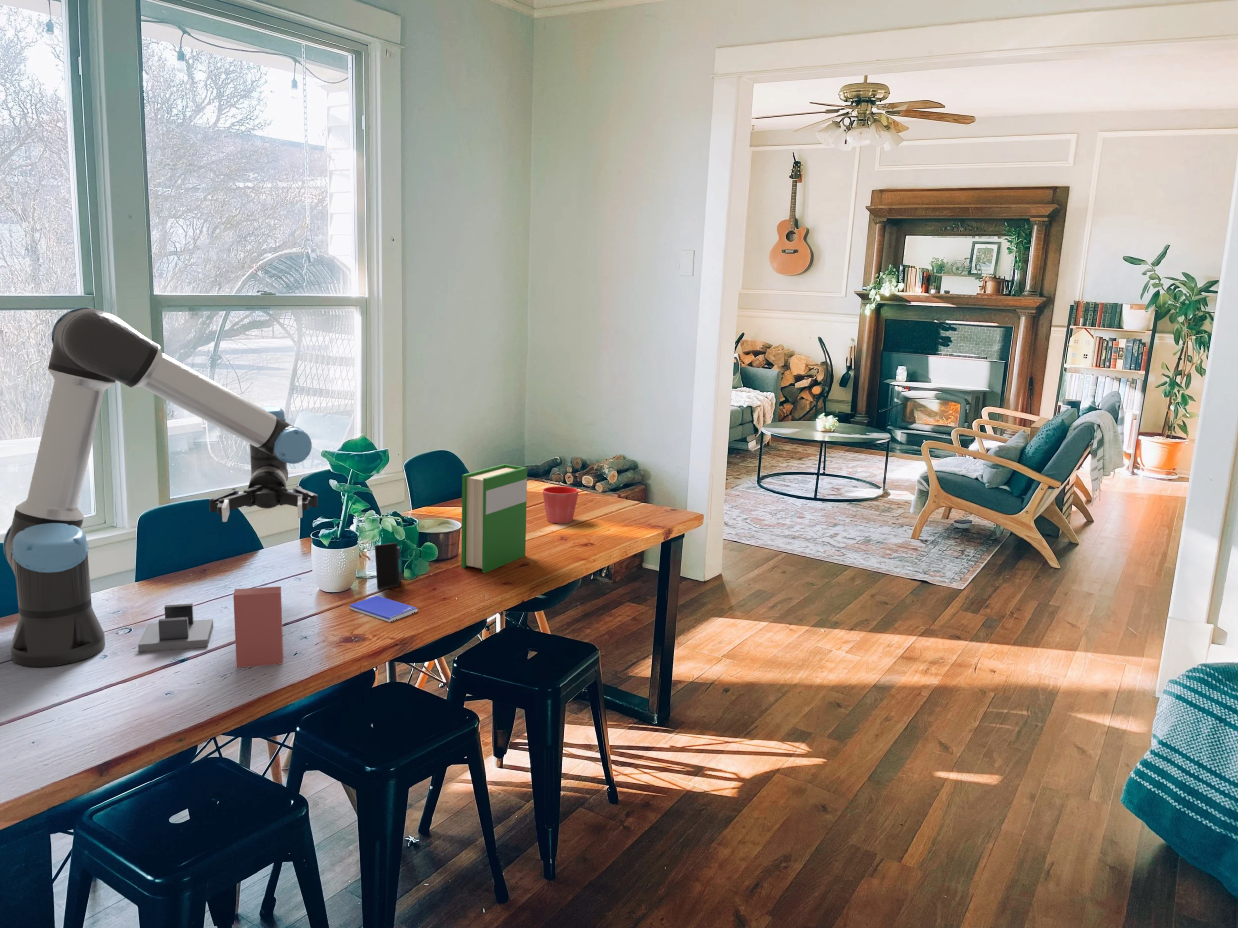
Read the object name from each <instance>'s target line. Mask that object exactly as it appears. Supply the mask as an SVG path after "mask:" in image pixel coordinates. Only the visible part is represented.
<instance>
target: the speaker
mask: <svg viewBox="0 0 1238 928" xmlns="http://www.w3.org/2000/svg"><path fill="white" fill-rule="evenodd" d="M374 552H375V554H374V555H375V569H376V573H375V574H376V583H377V584H376V585H377V590H382V589H383V590H384V589H388V588H389V589H390V588H395V587H400V586H401V584H400V582H401V581H402V571H403V567H402V558H401V547H400V546H398V542H389V543H384V544H376V545H374Z"/></svg>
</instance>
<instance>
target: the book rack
mask: <svg viewBox="0 0 1238 928" xmlns="http://www.w3.org/2000/svg"><path fill="white" fill-rule="evenodd" d="M213 628H214V619H212V618H211V619H210V618H208V619H195V620H194V605H193V603H180V604H166V605H164V618H159V619H158V621H157V622H154V623H153V622H152V623H147V625H146V627H145V629H144V631H143V634H142V635H141V638H140V640H139V642H138V645H137V647H138V652H139V653H144V652H143V651H146V652H155V651H156V652H157V651H169V650H170V649H172V650H182V649H183V650H184V649H194V648H196V649H197V647H198V648H208V646H209V643H210V639H211V636H212V633H213ZM170 651H171V650H170Z"/></svg>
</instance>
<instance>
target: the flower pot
mask: <svg viewBox="0 0 1238 928" xmlns="http://www.w3.org/2000/svg"><path fill="white" fill-rule="evenodd" d="M542 497H543V505H544V510H545V515H546V520H547V522H548V523H552V524H569V523H572V522H573V520H574V516H575V512H576V511H575V510H576V506H577V502H578V497H579V489H578V488H576V487H570V486H560V485H558V486H556V485H555V486H554V485H553V486H548V487H545V488H542Z"/></svg>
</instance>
